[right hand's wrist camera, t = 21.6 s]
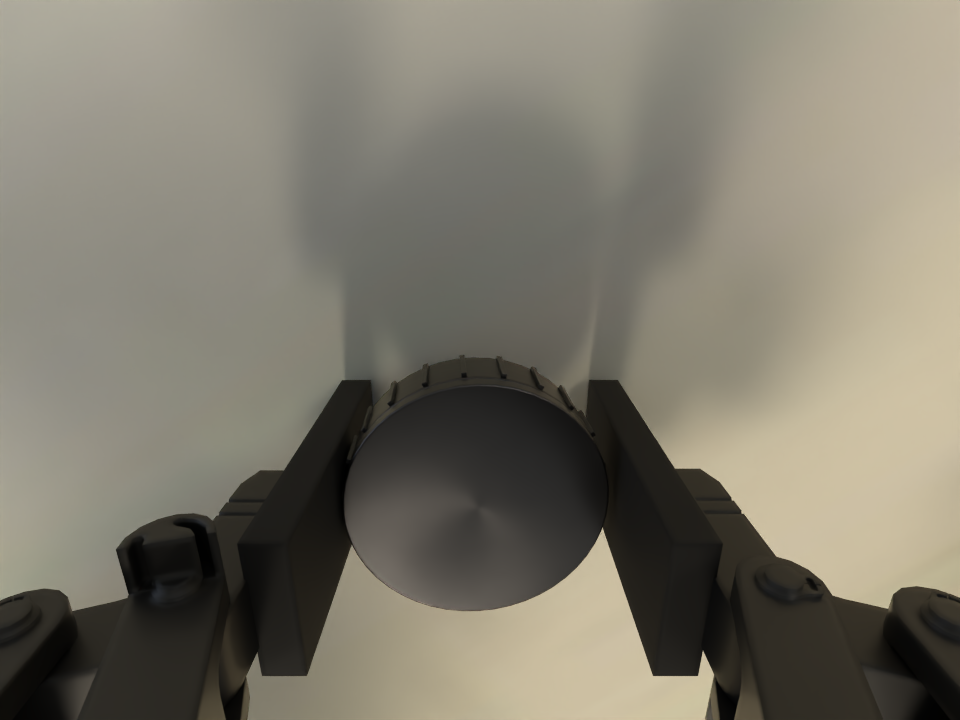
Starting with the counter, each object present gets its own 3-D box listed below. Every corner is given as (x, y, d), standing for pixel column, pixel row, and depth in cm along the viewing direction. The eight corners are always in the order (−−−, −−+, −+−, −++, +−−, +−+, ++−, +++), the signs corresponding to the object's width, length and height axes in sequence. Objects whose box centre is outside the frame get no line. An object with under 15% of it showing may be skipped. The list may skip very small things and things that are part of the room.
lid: (496, 301, 11) (504, 322, 10) (636, 480, 13) (662, 520, 11) (298, 453, 12) (278, 493, 11) (455, 601, 14) (456, 653, 12)
